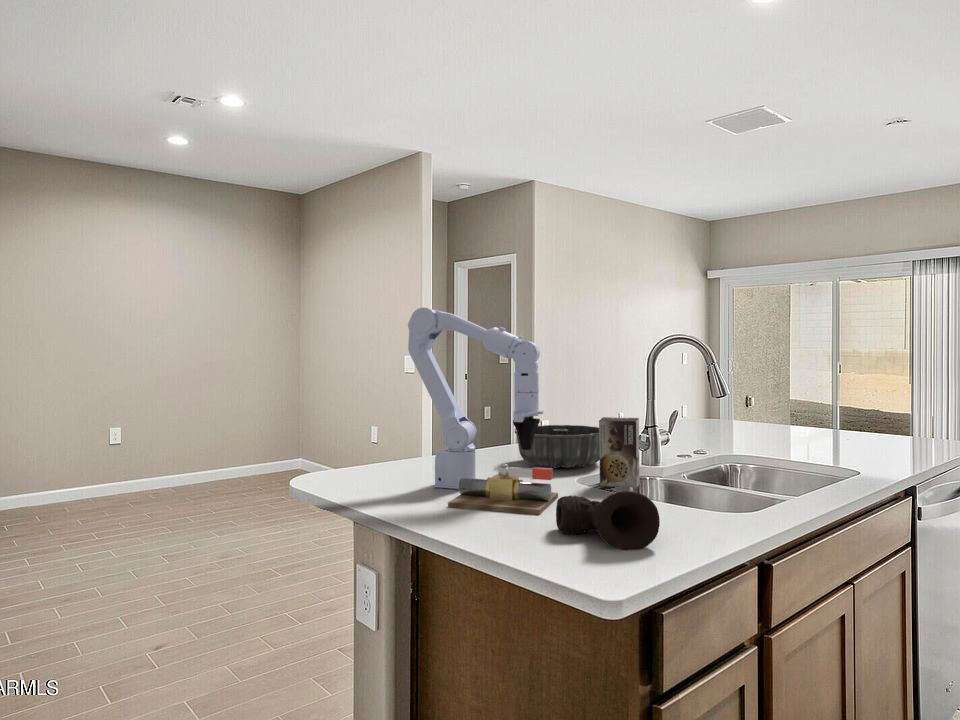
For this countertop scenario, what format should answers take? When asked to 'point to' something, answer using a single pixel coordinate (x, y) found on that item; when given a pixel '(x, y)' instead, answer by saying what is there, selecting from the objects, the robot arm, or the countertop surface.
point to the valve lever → (526, 472)
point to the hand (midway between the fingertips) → (526, 449)
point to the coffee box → (619, 452)
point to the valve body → (505, 488)
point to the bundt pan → (563, 446)
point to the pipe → (611, 518)
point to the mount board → (502, 504)
